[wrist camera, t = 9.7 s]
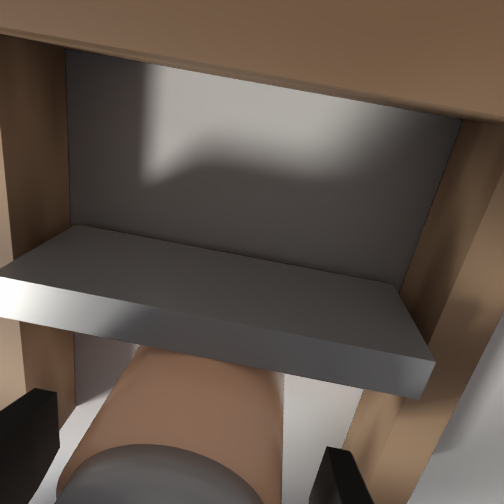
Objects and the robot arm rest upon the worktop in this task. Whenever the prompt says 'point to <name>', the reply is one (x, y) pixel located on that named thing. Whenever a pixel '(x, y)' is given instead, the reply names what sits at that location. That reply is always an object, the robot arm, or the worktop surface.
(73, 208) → the worktop surface
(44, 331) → the brown wooden frame
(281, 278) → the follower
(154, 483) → the jar
